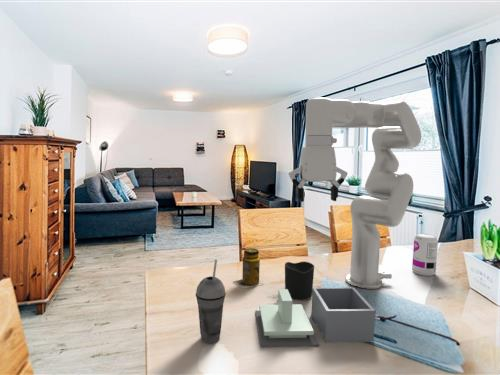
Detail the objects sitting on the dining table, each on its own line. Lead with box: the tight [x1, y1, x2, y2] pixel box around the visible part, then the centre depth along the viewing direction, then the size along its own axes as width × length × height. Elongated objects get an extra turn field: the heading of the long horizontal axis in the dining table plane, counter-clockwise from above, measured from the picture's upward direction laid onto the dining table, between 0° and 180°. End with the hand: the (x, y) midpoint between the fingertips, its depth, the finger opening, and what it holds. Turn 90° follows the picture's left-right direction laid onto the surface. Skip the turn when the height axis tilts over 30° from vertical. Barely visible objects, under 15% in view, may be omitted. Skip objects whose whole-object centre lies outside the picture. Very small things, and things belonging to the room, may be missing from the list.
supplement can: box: [411, 233, 439, 277], centre depth 127 cm, size 8×8×15 cm
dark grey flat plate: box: [255, 310, 320, 348], centre depth 84 cm, size 14×17×1 cm
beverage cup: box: [195, 259, 226, 345], centre depth 78 cm, size 7×7×20 cm
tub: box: [310, 286, 376, 343], centre depth 85 cm, size 12×14×8 cm
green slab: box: [258, 288, 315, 338], centre depth 84 cm, size 12×14×8 cm
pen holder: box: [284, 261, 315, 301], centre depth 104 cm, size 9×9×10 cm
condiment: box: [232, 247, 265, 290], centre depth 113 cm, size 7×8×12 cm
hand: (317, 200), depth 95 cm, fingers open, 9 cm apart
